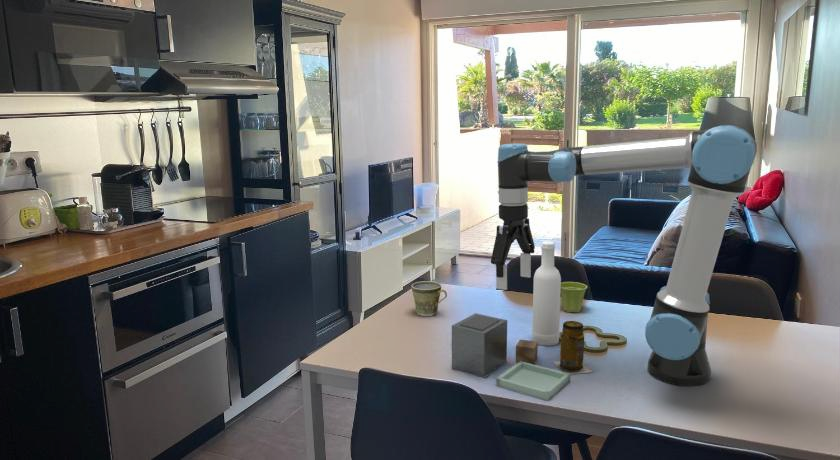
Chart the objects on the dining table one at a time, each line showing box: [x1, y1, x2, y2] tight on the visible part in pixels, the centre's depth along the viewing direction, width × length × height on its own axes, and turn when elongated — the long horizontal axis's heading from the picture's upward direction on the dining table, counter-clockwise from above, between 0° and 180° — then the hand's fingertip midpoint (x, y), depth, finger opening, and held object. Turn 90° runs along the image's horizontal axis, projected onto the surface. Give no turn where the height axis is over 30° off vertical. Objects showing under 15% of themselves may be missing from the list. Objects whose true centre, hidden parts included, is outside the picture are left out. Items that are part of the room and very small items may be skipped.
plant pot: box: [560, 281, 588, 314], centre depth 212 cm, size 9×9×9 cm
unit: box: [451, 313, 508, 378], centre depth 168 cm, size 10×12×12 cm
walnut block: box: [515, 339, 539, 365], centre depth 171 cm, size 5×5×5 cm
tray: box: [495, 361, 571, 402], centre depth 158 cm, size 14×13×2 cm
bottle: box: [531, 240, 562, 347], centre depth 183 cm, size 8×8×30 cm
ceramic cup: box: [411, 280, 448, 317], centre depth 209 cm, size 13×10×10 cm
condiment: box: [553, 320, 593, 375], centre depth 166 cm, size 7×8×12 cm
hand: (514, 282), depth 167 cm, fingers open, 13 cm apart
